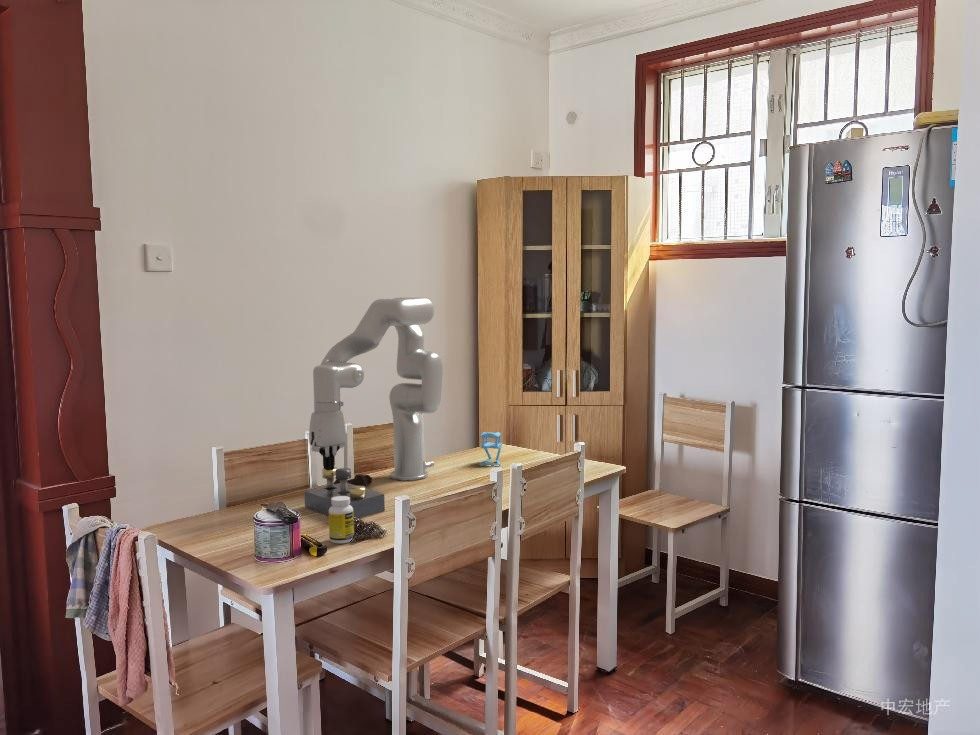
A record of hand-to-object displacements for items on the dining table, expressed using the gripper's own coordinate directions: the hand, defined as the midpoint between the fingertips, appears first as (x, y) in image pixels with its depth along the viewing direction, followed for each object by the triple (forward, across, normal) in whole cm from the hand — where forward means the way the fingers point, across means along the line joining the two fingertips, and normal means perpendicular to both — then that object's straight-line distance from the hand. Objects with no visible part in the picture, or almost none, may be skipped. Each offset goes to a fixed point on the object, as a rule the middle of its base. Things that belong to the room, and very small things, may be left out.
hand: (329, 468), depth 234 cm
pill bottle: (+11, +16, +30) cm, 36 cm away
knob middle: (+7, 0, +7) cm, 10 cm away
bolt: (+11, -15, -9) cm, 21 cm away
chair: (+10, -70, -3) cm, 70 cm away
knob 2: (+11, 0, +14) cm, 18 cm away
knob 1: (+8, 0, 0) cm, 8 cm away
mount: (+11, 0, +7) cm, 13 cm away
